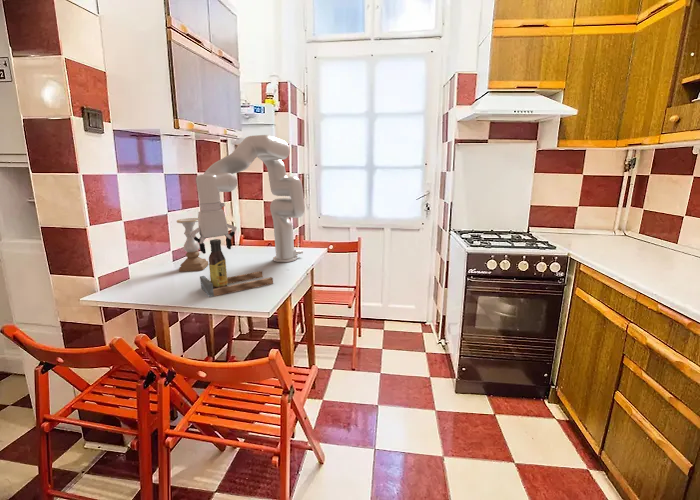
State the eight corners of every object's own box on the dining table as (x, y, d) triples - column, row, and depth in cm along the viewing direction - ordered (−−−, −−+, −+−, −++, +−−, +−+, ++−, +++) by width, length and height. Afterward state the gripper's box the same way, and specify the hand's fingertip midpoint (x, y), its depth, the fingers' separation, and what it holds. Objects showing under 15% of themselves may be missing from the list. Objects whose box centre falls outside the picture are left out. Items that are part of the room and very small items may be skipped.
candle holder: (208, 264, 185) (203, 217, 180) (202, 270, 174) (196, 220, 169) (186, 265, 184) (179, 218, 178) (178, 271, 173) (172, 221, 168)
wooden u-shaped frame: (261, 276, 163) (260, 265, 162) (273, 283, 152) (272, 272, 151) (201, 288, 149) (199, 276, 148) (209, 297, 138) (208, 284, 137)
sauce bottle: (222, 291, 143) (217, 242, 138) (208, 291, 144) (202, 241, 140) (231, 286, 149) (226, 238, 145) (217, 285, 151) (212, 238, 146)
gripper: (230, 204, 147) (235, 245, 151) (184, 209, 138) (191, 252, 142) (236, 205, 141) (241, 248, 145) (188, 211, 132) (195, 256, 136)
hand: (216, 250), depth 144 cm, fingers open, 9 cm apart
